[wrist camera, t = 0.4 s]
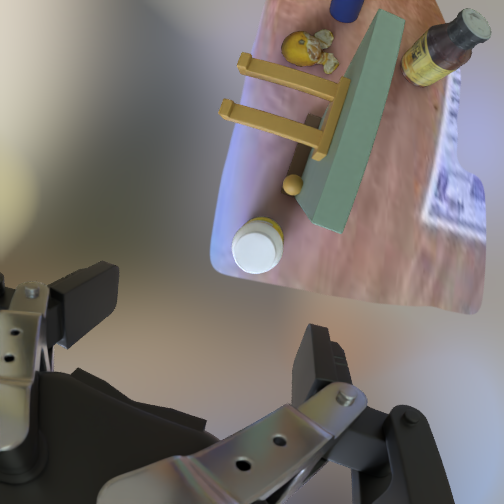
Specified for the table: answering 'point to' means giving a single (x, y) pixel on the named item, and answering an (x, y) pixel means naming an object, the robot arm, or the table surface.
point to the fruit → (310, 49)
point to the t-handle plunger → (345, 10)
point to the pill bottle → (258, 245)
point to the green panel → (329, 122)
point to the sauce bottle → (444, 48)
